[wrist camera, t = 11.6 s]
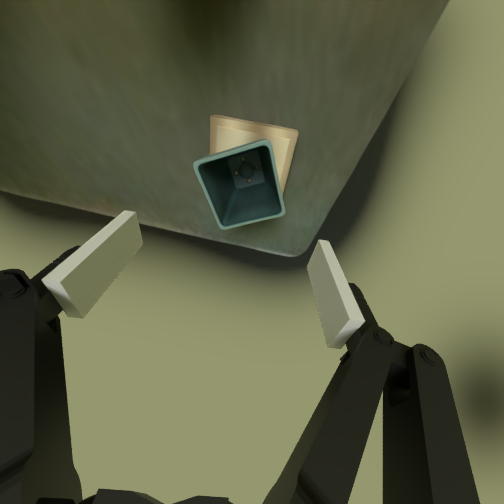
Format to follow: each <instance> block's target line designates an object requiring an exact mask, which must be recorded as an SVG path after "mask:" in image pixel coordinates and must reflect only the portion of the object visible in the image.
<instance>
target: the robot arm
mask: <svg viewBox="0 0 504 504" xmlns="http://www.w3.org/2000/svg"><path fill="white" fill-rule="evenodd" d="M142 245H143V241H142V236H141V232H140V228H139V223H138V219H137V215H136V212H132V211H125V210H124V211H123V212H122V213H121V214H120V215H118V216H117V217H116V218H115V219H114V220H113V221H111V222H110V223H109V224H108V225H107V226H105V227H104V228H103V229H102V230H101V231H99V232H98V233H97V234H96V235H94V236H93V237H92V238H91V239H90V240H88V241H87V242H86V243H85V244H84V245H82V246H75V247H73V248H71V249H69V250H67V251H66V252H64V253H63V254H62V255H61V256H60V257H59V258H57V259H56V260H54V261H53V263H51V264H49V265H48V266H47V267H46V268H44V269H43V270H42V271H40V272H39V273H38V274H37V275H36V276H34V277H33V278H32V279H29V278H28V276H27V275H26V274H25V272H24V271H22V270H19V269H7V270H2V271H0V504H164V503H162V502H160V501H158V500H156V499H154V498H153V497H151V496H149V495H147V494H144V493H139V492H134V491H124V490H110V489H98V491H97V494H96V495H93V496H90V497H88V498H86V499H84V500H83V499H82V490H81V483H80V479H79V476H78V474H77V472H76V470H75V468H74V464H73V458H72V448H71V436H70V425H69V414H68V403H67V392H66V381H65V370H64V359H63V348H62V337H61V326H60V319H59V317H58V314H59V313H60V312H61V311H62V310H63V311H64V312H65V313H66V315H67V316H68V317H75V318H84V317H85V315H86V314H87V313H88V312H89V311H90V309H91V308H92V307H93V306H94V304H95V303H96V302H97V301H98V299H99V298H100V297H101V296H102V294H103V293H104V292H105V291H106V289H107V288H108V287H109V286H110V284H111V283H112V282H113V281H114V279H115V278H116V277H117V276H118V275H119V273H120V272H121V271H122V269H123V268H124V267H125V266H126V265H127V263H128V262H129V261H130V259H131V258H132V257H133V256H134V255H135V253H136V252H137V251H138V250H139V248H140V247H141V246H142ZM307 270H308V273H309V277H310V281H311V285H312V289H313V293H314V297H315V301H316V305H317V308H318V312H319V316H320V320H321V324H322V328H323V332H324V335H325V339H326V343H327V347H329V348H337V349H341V348H342V347H343V346H344V345H345V344H346V346H347V349H348V351H347V352H346V353H345V354H344V355H343V356H342V357H341V358H340V360H341V362H340V364H339V366H338V368H337V370H336V372H335V374H334V375H333V378H332V379H331V381H330V383H329V385H328V387H327V389H326V391H325V392H324V394H323V396H322V398H321V400H320V402H319V404H318V406H317V407H316V409H315V411H314V413H313V415H312V417H311V419H310V421H309V423H308V424H307V426H306V428H305V430H304V432H303V434H302V436H301V438H300V439H299V442H298V443H297V445H296V447H295V449H294V451H293V452H292V454H291V456H290V458H289V461H288V462H287V464H286V466H285V468H284V470H283V471H282V473H281V475H280V477H279V479H278V480H277V482H276V483H275V485H274V486H273V487H272V489H271V490H270V492H269V493H268V495H267V496H266V498H265V500H264V502H263V504H348V500H349V497H350V494H351V491H352V487H353V484H354V481H355V478H356V475H357V471H358V468H359V465H360V461H361V459H362V455H363V452H364V449H365V446H366V442H367V439H368V436H369V433H370V429H371V426H372V423H373V420H374V417H375V413H376V410H377V407H378V404H379V400H380V397H381V394H382V391H383V504H480V501H479V498H478V494H477V489H476V485H475V482H474V478H473V474H472V470H471V466H470V462H469V458H468V454H467V450H466V446H465V442H464V438H463V434H462V430H461V426H460V423H459V418H458V414H457V410H456V406H455V402H454V398H453V394H452V390H451V386H450V383H449V378H448V374H447V370H446V367H445V364H444V361H443V360H442V358H441V357H440V356H439V354H437V353H436V352H435V351H434V350H433V349H431V348H430V347H428V346H426V345H423V344H416V345H414V346H413V347H412V348H411V347H409V346H406V345H404V344H401V343H399V342H396V341H394V338H393V337H392V336H391V335H390V333H388V332H387V331H386V330H385V329H383V328H381V327H379V326H378V324H377V322H376V320H375V318H374V316H373V314H372V312H371V310H370V308H369V306H368V305H367V302H366V300H365V299H364V296H363V294H362V292H361V290H360V289H359V288H358V287H357V286H356V285H355V284H354V283H348V282H347V280H346V278H345V276H344V274H343V271H342V269H341V267H340V265H339V263H338V261H337V258H336V256H335V254H334V252H333V250H332V247H331V245H330V243H329V241H324V240H318V243H317V245H316V247H315V250H314V252H313V254H312V257H311V259H310V261H309V263H308V266H307ZM228 499H229V498H225V497H210V496H195V497H192V498H189V499H186V500H183V501H180V502H177V503H174V504H233V503H231V502H229V501H228Z"/></svg>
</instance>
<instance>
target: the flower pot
mask: <svg viewBox="0 0 504 504" xmlns="http://www.w3.org/2000/svg"><path fill="white" fill-rule="evenodd" d="M242 158H245V161H242ZM255 166H258V167H259V168H258V169H256V168H255ZM193 167H194V171H195V173H196V175H197V177H198V179H199V182H200V184H201V186H202V188H203V190H204V193H205V195H206V197H207V200H208V202H209V204H210V207H211V209H212V211H213V214H214V216H215V218H216V221H217V223H218V226H219V227H220V228H221V229H222V230H225V229H230V228H234V227H238V226H242V225H246V224H250V223H255V222H259V221H263V220H268V219H272V218H278V217H281V216H283V215H285V206H284V202H283V198H282V193H281V188H280V183H279V178H278V173H277V168H276V163H275V157H274V151H273V146H272V143H271V141H270V140H268V139H259V140H256V141H253V142H250V143H247V144H244V145H241V146H237V147H234V148H231V149H228V150H224V151H221V152H218V153H214V154H211V155H208V156H206V157H204V158H202V159H199V160H197V161H195V162H194V163H193ZM236 171H237V172H238V175H235V172H236ZM248 179H251V182H248Z"/></svg>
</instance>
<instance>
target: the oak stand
mask: <svg viewBox="0 0 504 504" xmlns="http://www.w3.org/2000/svg"><path fill="white" fill-rule="evenodd" d="M298 133H299V132H298V131H297V130H296V129H291V128H286V127H280V126H275V125H269V124H264V123H258V122H253V121H247V120H242V119H237V118H231V117H226V116H220V115H212V116H211V117H210V155H211V154H214V153H218V152H221V151H224V150H228V149H231V148H234V147H237V146H241V145H244V144H247V143H250V142H253V141H256V140H259V139H268V140H270V141H271V143H272V146H273V151H274V157H275V163H276V168H277V173H278V178H279V183H280V188H281V193H282V196H283V192H284V188H285V184H286V180H287V176H288V172H289V168H290V164H291V160H292V156H293V152H294V148H295V145H296V141H297V137H298ZM242 161H245V158H242ZM255 168H256V169H258V168H259V167H258V166H255ZM235 175H238V172H237V171H236V172H235ZM248 182H251V179H248Z"/></svg>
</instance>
